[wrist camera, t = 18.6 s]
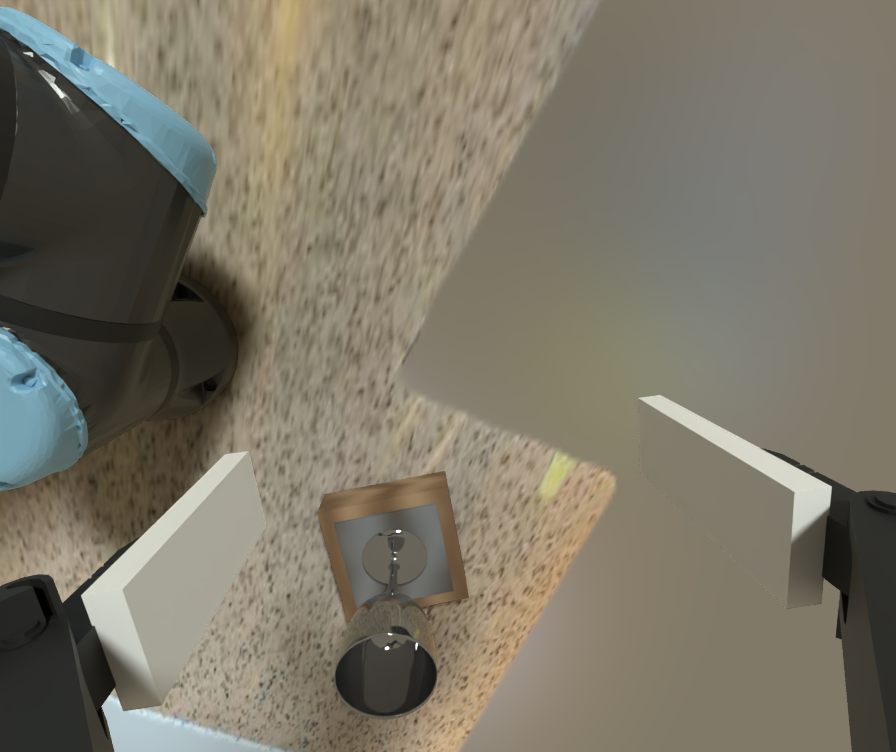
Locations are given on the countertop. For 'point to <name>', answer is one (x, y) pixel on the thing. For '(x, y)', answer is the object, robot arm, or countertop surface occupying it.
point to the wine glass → (388, 635)
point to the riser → (384, 508)
